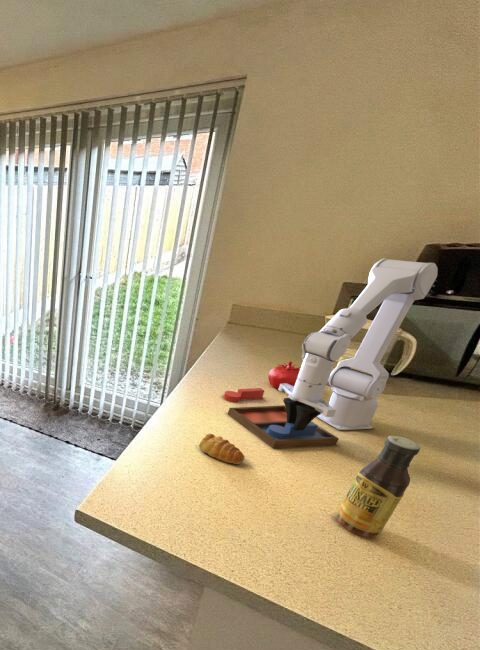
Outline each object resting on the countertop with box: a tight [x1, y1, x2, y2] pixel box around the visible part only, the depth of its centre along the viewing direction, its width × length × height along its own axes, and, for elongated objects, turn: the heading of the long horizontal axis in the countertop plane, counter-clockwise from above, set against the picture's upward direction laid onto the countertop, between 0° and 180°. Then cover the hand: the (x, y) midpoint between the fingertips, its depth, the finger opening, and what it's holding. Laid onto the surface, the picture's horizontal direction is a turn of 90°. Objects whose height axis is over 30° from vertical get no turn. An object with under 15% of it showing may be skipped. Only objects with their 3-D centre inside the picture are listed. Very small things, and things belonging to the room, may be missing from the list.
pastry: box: [198, 433, 246, 465], centre depth 96 cm, size 9×7×4 cm
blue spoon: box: [267, 421, 319, 439], centre depth 102 cm, size 12×4×3 cm, turn 93°
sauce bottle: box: [336, 435, 421, 538], centre depth 71 cm, size 7×6×20 cm
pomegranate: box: [267, 360, 301, 390], centre depth 128 cm, size 10×10×9 cm
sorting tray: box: [227, 404, 340, 449], centre depth 107 cm, size 17×17×2 cm
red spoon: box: [223, 387, 265, 403], centre depth 123 cm, size 12×4×3 cm, turn 93°
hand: (295, 427), depth 102 cm, fingers closed on blue spoon, 2 cm apart
